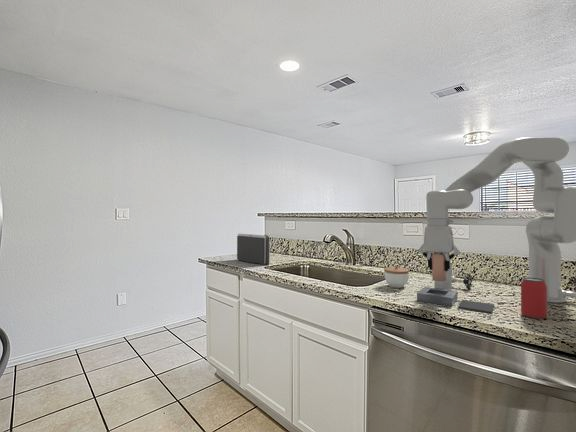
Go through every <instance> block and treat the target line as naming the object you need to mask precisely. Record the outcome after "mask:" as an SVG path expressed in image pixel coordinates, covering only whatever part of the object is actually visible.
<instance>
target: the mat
mask: <svg viewBox="0 0 576 432" xmlns="http://www.w3.org/2000/svg"><path fill="white" fill-rule="evenodd" d="M494 307H495V304H494V303H486V302H479V301H473V300H466V299H461V301H460V303H459V304H458V306H457V309H461V310H466V311H467V310H468V311H473V312H479V313H486V314H493V311H494Z"/></svg>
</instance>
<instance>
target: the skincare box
mask: <svg viewBox="0 0 576 432" xmlns="http://www.w3.org/2000/svg"><path fill="white" fill-rule="evenodd" d="M452 266H453V265H452V263H450V269H448V271H446V281H434V280H433V281H434V286H433V288H438V289H446V290H453V288H452V287H453V286H452V285H453V283H452V276H453V273H452V272H453V271H452V269H453V268H452Z"/></svg>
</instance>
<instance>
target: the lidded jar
mask: <svg viewBox="0 0 576 432" xmlns="http://www.w3.org/2000/svg"><path fill="white" fill-rule="evenodd" d="M383 271H384V275H383V276H384V279H385V282H386V283H387V285H389V287H391V288H399V289H401V288H404V286H406V284H407V283H408V281H409V273H410V269H408V268H406V267H401V266H400V267H399V266H398V265H395V266H391V267H389V266H388V267H384V269H383Z"/></svg>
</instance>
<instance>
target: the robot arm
mask: <svg viewBox="0 0 576 432" xmlns="http://www.w3.org/2000/svg"><path fill="white" fill-rule="evenodd" d="M569 152H570V146H569V144H568V142H567V141H566V140H565V139H563V138H560V137H554V136H553V137H520V138H515V139H512V140H510V141H505V142H503V143H501V144H500V145H498V146H497V147H496V148H494V149H493V150H492V151H491V152H490V153H489V154H488V155H486V157H485V158H484V159H482V160H481V161H480V162H479V163H478V164H476V165H475V167H473V168H472V169H470V170H469V171H467V172H466V173H465V174H463V175H462V176H460V177H458V178H457V179H456V180H455V181H453V182H452V183H451V184H450V185H449V186H448V187H446V188H445V190H431V191H428V192H427V193H426V197H425V198H426V226H424V231H423V232H424V234H423V244H422V245H421V246H420V247H419V248H418V251H417V252H419V253H420V254H422V255H423V256H424V257H425V258H426V260H427V268H428V269H429V271H432V253H434V252H438V253H443V254H444V255H445V258H446V261H445V271H448V269H450V264H451V260H452V259H453V258H454V257H455V256H457V255H459V254H460V253H461V251H460V249H458V247H457V246H456V245H455V243H454V234H453V228H452V226H451V224H453V223H454V221H453V219H450V218H449V210H464V209H467V208H469V207H470V206H471V205H472V204H473V201H474V196H473V194H472V193H473V192H474V191H476V190H478V189H481V188H484V187H486V186H489V185H490V184H492V183H494V182H495V181H496V180H498V179H499V178H500V176H502V175H503V174H504V173H505V172H507V171H508V170H509V169H510V168H511V167H512V166H513V165H514V164H517V163H523V164H524V165H525V166H527V168H529V169H530V170H531V172H532V174H533V177H534V180H533V181H534V185H533V195H532V196H533V197H532V206H533V207H532V208H534V210H535V211H537V212H539V213H545V214H553V216H551V215H550V216H548V215H547V216H546V215H545V216H542V215H541V216H537V217H534V218H531V219H530V220H529V221H528V222H527V224H526V225H525V226H526V227H525V234H526V237H527V243H528V277H532V278H540V279H543V280H545V283H546V286H547V303H552V304H553V303H554V304H555V303H556V304H557V303H558V304H560V303H561V304H563V303H565V302H567V297H569V298H575V299H576V292H575V291H574V292H573V291H570V290H569V291H568V290H564V289H563V288H562V251H561V248H560V245H559V244H567V245H569V244H573V243H575V242H576V187H572V186H564V172H563V169H562V168H561V167H560V165H559V164H558V163H557V162H560V161H561V160H563V159H565V158H566V156H568V154H569ZM450 253H451V254H450Z"/></svg>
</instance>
